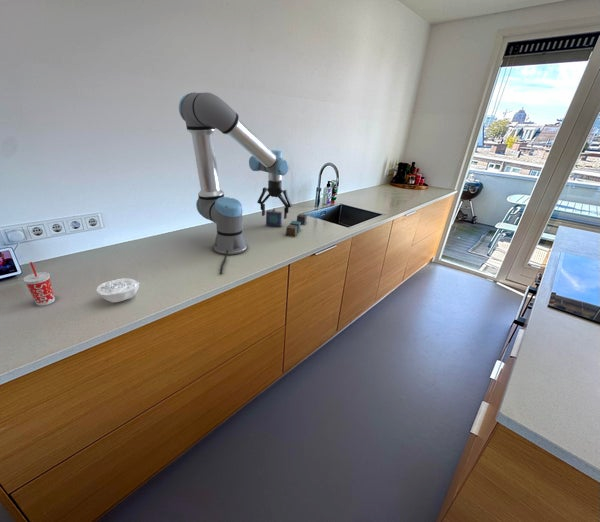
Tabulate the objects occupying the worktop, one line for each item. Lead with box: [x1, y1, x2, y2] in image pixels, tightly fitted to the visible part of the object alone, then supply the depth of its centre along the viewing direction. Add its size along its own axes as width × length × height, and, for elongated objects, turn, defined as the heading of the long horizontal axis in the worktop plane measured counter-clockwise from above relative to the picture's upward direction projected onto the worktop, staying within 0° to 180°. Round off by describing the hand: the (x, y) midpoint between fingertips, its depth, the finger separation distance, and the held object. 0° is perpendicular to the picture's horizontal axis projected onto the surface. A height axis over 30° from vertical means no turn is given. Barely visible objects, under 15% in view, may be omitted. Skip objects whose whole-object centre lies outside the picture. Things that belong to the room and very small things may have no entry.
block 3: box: [296, 213, 308, 226], centre depth 178 cm, size 5×5×5 cm
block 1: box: [289, 220, 302, 234], centre depth 165 cm, size 5×5×5 cm
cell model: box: [96, 277, 140, 304], centre depth 94 cm, size 10×12×7 cm
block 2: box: [285, 224, 298, 238], centre depth 158 cm, size 5×5×5 cm
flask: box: [265, 208, 283, 228], centre depth 169 cm, size 9×3×11 cm, turn 88°
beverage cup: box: [22, 261, 56, 307], centre depth 88 cm, size 6×6×14 cm
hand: (274, 216), depth 169 cm, fingers open, 13 cm apart
